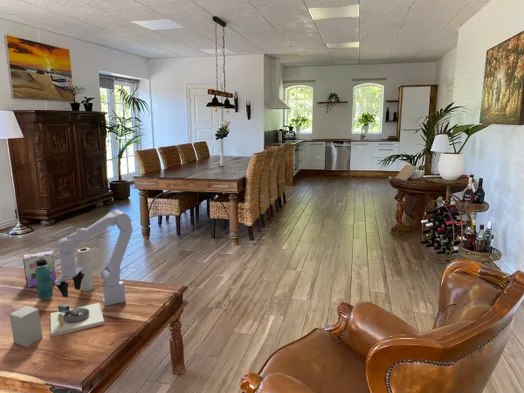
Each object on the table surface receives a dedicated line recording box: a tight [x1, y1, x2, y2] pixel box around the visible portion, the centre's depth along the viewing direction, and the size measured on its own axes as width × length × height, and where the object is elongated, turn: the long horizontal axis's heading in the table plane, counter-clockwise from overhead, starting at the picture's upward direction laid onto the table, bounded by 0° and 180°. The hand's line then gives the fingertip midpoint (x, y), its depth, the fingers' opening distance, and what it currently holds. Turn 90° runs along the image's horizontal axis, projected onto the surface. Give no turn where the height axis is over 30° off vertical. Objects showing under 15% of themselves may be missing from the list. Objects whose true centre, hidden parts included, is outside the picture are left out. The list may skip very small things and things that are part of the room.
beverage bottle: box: [35, 260, 54, 300], centre depth 182 cm, size 6×7×20 cm
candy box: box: [22, 250, 58, 289], centre depth 199 cm, size 14×6×16 cm, turn 117°
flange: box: [57, 303, 89, 323], centre depth 165 cm, size 14×10×4 cm
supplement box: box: [9, 305, 43, 348], centre depth 150 cm, size 7×7×13 cm
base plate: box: [50, 302, 105, 338], centre depth 165 cm, size 20×18×6 cm
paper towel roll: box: [76, 246, 95, 292], centre depth 193 cm, size 7×6×21 cm
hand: (71, 293), depth 170 cm, fingers open, 7 cm apart
